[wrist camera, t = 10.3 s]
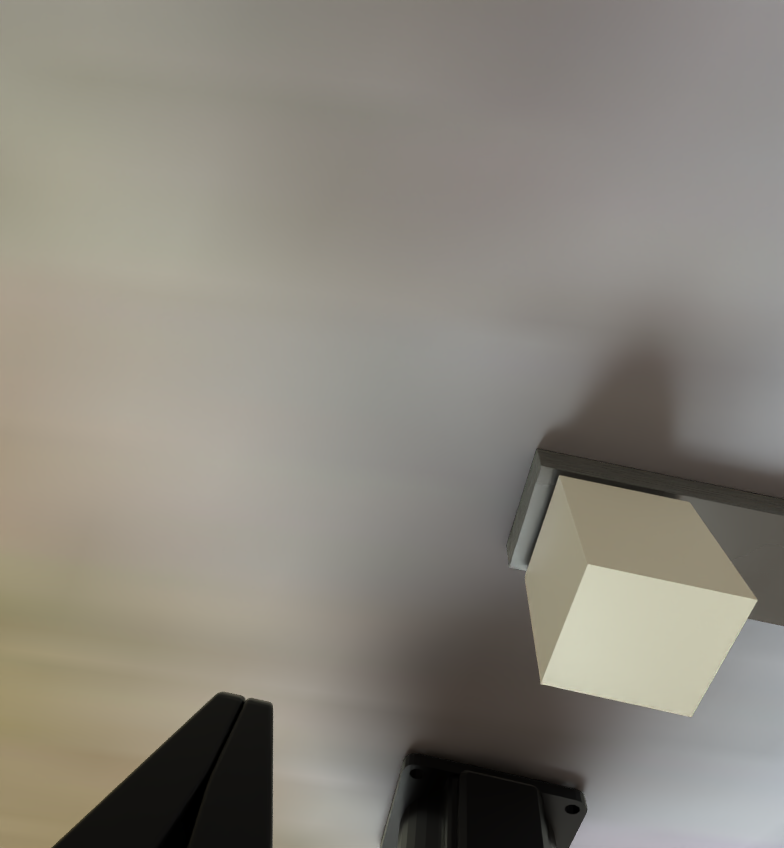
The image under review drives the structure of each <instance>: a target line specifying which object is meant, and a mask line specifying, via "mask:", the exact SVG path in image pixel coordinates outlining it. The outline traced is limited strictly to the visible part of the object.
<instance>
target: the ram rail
mask: <svg viewBox="0 0 784 848" xmlns="http://www.w3.org/2000/svg"><path fill="white" fill-rule="evenodd" d="M559 475H561V476H566V477H571V478H576V479H580V480H585V481H590V482H595V483H600V484H605V485H609V486H614V487H619V488H624V489H629V490H634V491H638V492H643V493H648V494H653V495H658V496H663V497H667V498H672V499H677V500H682V501H687V502H690V503H691V505H692V506H693V508H694V509H695V511H696V512H697V513H698V515H699V516H700V518H701V519H702V521H703V522H704V523H705V525H706V526H707V528H708V529H709V531H710V532H711V534H712V535H713V536H714V538H715V539H716V541H717V542H718V544H719V545H720V546H721V548H722V549H723V551H724V552H725V554H726V555H727V557H728V558H729V559H730V561H731V562H732V564H733V565H734V567H735V568H736V569H737V571H738V572H739V574H740V575H741V577H742V578H743V580H744V581H745V582H746V584H747V585H748V587H749V588H750V590H751V591H752V592H753V594H754V595H755V597H756V598H757V600H758V601H757V602H756V604H755V606H754V608H753V609H752V611H751V613H750V615H749V617H748V619H753V620H757V621H762V622H767V623H771V624H776V625H781V626H784V499H779V498H774V497H770V496H765V495H760V494H755V493H750V492H745V491H740V490H736V489H731V488H726V487H721V486H716V485H711V484H706V483H702V482H697V481H692V480H687V479H682V478H677V477H672V476H668V475H663V474H658V473H653V472H648V471H643V470H638V469H633V468H629V467H624V466H619V465H614V464H609V463H604V462H599V461H595V460H590V459H585V458H580V457H575V456H570V455H565V454H561V453H556V452H551V451H546V450H541V449H537V450H536V453H535V456H534V459H533V462H532V466H531V469H530V472H529V475H528V478H527V481H526V485H525V488H524V491H523V494H522V497H521V501H520V504H519V507H518V510H517V513H516V517H515V520H514V523H513V526H512V529H511V533H510V536H509V539H508V542H507V545H506V547H507V555H508V564H509V568H514V569H518V570H523V571H527V569H528V566H529V563H530V560H531V557H532V554H533V551H534V548H535V545H536V542H537V539H538V536H539V533H540V530H541V527H542V524H543V521H544V519H545V516H546V513H547V510H548V507H549V504H550V501H551V498H552V495H553V492H554V489H555V486H556V483H557V480H558V477H559Z"/></svg>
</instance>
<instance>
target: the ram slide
mask: <svg viewBox="0 0 784 848" xmlns="http://www.w3.org/2000/svg"><path fill="white" fill-rule="evenodd" d="M524 578H525V584H526V591H527V598H528V604H529V611H530V617H531V624H532V630H533V637H534V643H535V650H536V656H537V663H538V670H539V676H540V683H541V684H543V685H548V686H552V687H557V688H561V689H566V690H570V691H575V692H579V693H584V694H588V695H593V696H597V697H602V698H607V699H611V700H616V701H620V702H625V703H629V704H634V705H638V706H643V707H647V708H652V709H656V710H661V711H666V712H670V713H675V714H679V715H684V716H688V717H692V715H693V714H694V712H695V710H696V708H697V707H698V705H699V703H700V701H701V699H702V698H703V696H704V694H705V692H706V691H707V689H708V687H709V685H710V684H711V682H712V680H713V678H714V677H715V675H716V673H717V671H718V669H719V668H720V666H721V664H722V662H723V661H724V659H725V657H726V655H727V654H728V652H729V650H730V648H731V647H732V645H733V643H734V641H735V639H736V638H737V636H738V634H739V632H740V631H741V629H742V627H743V625H744V624H745V622H746V620H747V618H748V617H749V615H750V613H751V611H752V609H753V608H754V606H755V604H756V602H757V601H758V600H757V598H756V597H755V595H754V594H753V592H752V591H751V590H750V588H749V587H748V585H747V584H746V582H745V581H744V580H743V578H742V577H741V575H740V574H739V572H738V571H737V569H736V568H735V567H734V565H733V564H732V562H731V561H730V559H729V558H728V557H727V555H726V554H725V552H724V551H723V549H722V548H721V546H720V545H719V544H718V542H717V541H716V539H715V538H714V536H713V535H712V534H711V532H710V531H709V529H708V528H707V526H706V525H705V523H704V522H703V521H702V519H701V518H700V516H699V515H698V513H697V512H696V511H695V509H694V508H693V506H692V505H691V503H690V502H687V501H682V500H677V499H672V498H667V497H663V496H658V495H653V494H648V493H643V492H638V491H634V490H629V489H624V488H619V487H614V486H609V485H605V484H600V483H595V482H590V481H585V480H580V479H576V478H571V477H566V476H561V475H559V477H558V480H557V483H556V486H555V489H554V492H553V495H552V498H551V501H550V504H549V507H548V510H547V513H546V516H545V519H544V521H543V524H542V527H541V530H540V533H539V536H538V539H537V542H536V545H535V548H534V551H533V554H532V557H531V560H530V563H529V566H528V569H527V572H526V575H525V577H524Z"/></svg>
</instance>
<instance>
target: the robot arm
mask: <svg viewBox="0 0 784 848" xmlns="http://www.w3.org/2000/svg"><path fill="white" fill-rule="evenodd" d="M586 813H587V805H586V800H585V796H584V794H583V793H582V792H580V791H579V790H576V789H572V788H568V787H563V786H559V785H555V784H550V783H546V782H541V781H537V780H533V779H528V778H524V777H519V776H515V775H510V774H506V773H502V772H497V771H493V770H488V769H484V768H480V767H475V766H471V765H466V764H462V763H457V762H453V761H449V760H444V759H440V758H435V757H431V756H427V755H422V754H410V755H408V756H406V757H405V759H404V761H403V765H402V769H401V772H400V776H399V780H398V783H397V787H396V791H395V794H394V798H393V802H392V805H391V809H390V812H389V816H388V820H387V823H386V827H385V831H384V834H383V838H382V842H381V845H380V848H569V847H570V845H571V843H572V841H573V839H574V837H575V835H576V833H577V831H578V829H579V827H580V825H581V823H582V821H583V819H584V817H585V815H586ZM272 832H273V705H272V703H271V702H267V701H263V700H259V699H254V698H249V699H247V700H245V698H244V697H243V696H241V695H237V694H232V693H228V692H220V693H218V694H216V695H215V696H214V697H213V698H212V699H211V700H210V701H208V702H207V703H206V704H205V705H204V706H203V707H202V708H201V709H200V710H199V711H198V712H197V713H196V714H194V715H193V716H192V717H191V718H190V719H189V720H188V721H187V722H186V723H185V724H184V725H183V726H182V727H181V728H179V729H178V730H177V731H176V732H175V733H174V734H173V735H172V736H171V737H170V738H169V739H168V740H167V741H166V742H164V743H163V744H162V745H161V746H160V747H159V748H158V749H157V750H156V751H155V752H154V753H153V754H152V755H150V756H149V757H148V758H147V759H146V760H145V761H144V762H143V763H142V764H141V765H140V766H139V767H138V768H137V769H135V770H134V771H133V772H132V773H131V774H130V775H129V776H128V777H127V778H126V779H125V780H124V781H123V782H122V783H120V784H119V785H118V786H117V787H116V788H115V789H114V790H113V791H112V792H111V793H110V794H109V795H108V796H107V797H105V798H104V799H103V800H102V801H101V802H100V803H99V804H98V805H97V806H96V807H95V808H94V809H93V810H91V811H90V812H89V813H88V814H87V815H86V816H85V817H84V818H83V819H82V820H81V821H80V822H79V823H78V824H76V825H75V826H74V827H73V828H72V829H71V830H70V831H69V832H68V833H67V834H66V835H65V836H64V837H63V838H61V839H60V840H59V841H58V842H57V843H56V844H55V845H54V846H53V847H52V848H272Z"/></svg>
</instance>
